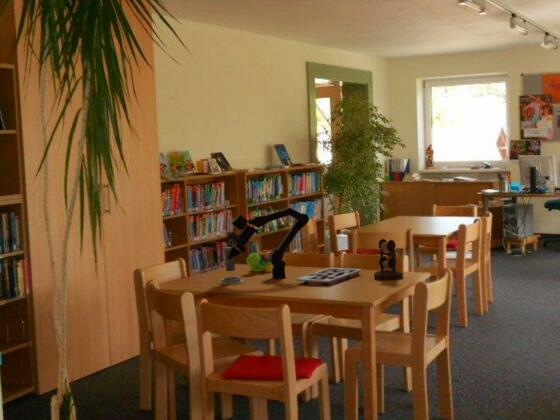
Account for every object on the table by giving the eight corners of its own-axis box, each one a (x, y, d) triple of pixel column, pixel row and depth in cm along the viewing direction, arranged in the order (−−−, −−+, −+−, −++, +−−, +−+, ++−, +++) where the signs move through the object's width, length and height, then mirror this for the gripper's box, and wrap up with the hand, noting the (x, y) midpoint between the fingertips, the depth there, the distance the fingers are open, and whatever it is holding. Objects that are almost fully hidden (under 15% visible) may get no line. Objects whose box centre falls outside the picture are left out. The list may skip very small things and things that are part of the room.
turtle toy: (238, 273, 448) (237, 253, 447) (265, 267, 466) (263, 247, 465) (261, 275, 438) (260, 254, 437) (287, 268, 456) (286, 248, 455)
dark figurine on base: (409, 277, 402) (407, 238, 401) (386, 281, 395) (384, 242, 393) (390, 274, 415) (388, 236, 413) (368, 278, 407) (366, 240, 406)
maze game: (330, 273, 431) (330, 267, 431) (362, 275, 420) (361, 269, 420) (295, 285, 403) (295, 279, 402) (329, 287, 392) (328, 280, 391)
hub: (243, 279, 427) (243, 275, 427) (243, 283, 414) (243, 279, 414) (219, 281, 426) (219, 277, 426) (218, 285, 413) (218, 281, 413)
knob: (236, 269, 420) (235, 246, 419) (233, 271, 416) (231, 248, 415) (227, 269, 422) (226, 246, 421) (224, 271, 417) (222, 248, 416)
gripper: (230, 224, 427) (212, 246, 425) (238, 227, 409) (218, 250, 407) (246, 237, 430) (227, 259, 428) (253, 241, 412) (234, 264, 410)
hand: (227, 258), depth 418 cm, fingers closed on knob, 5 cm apart
